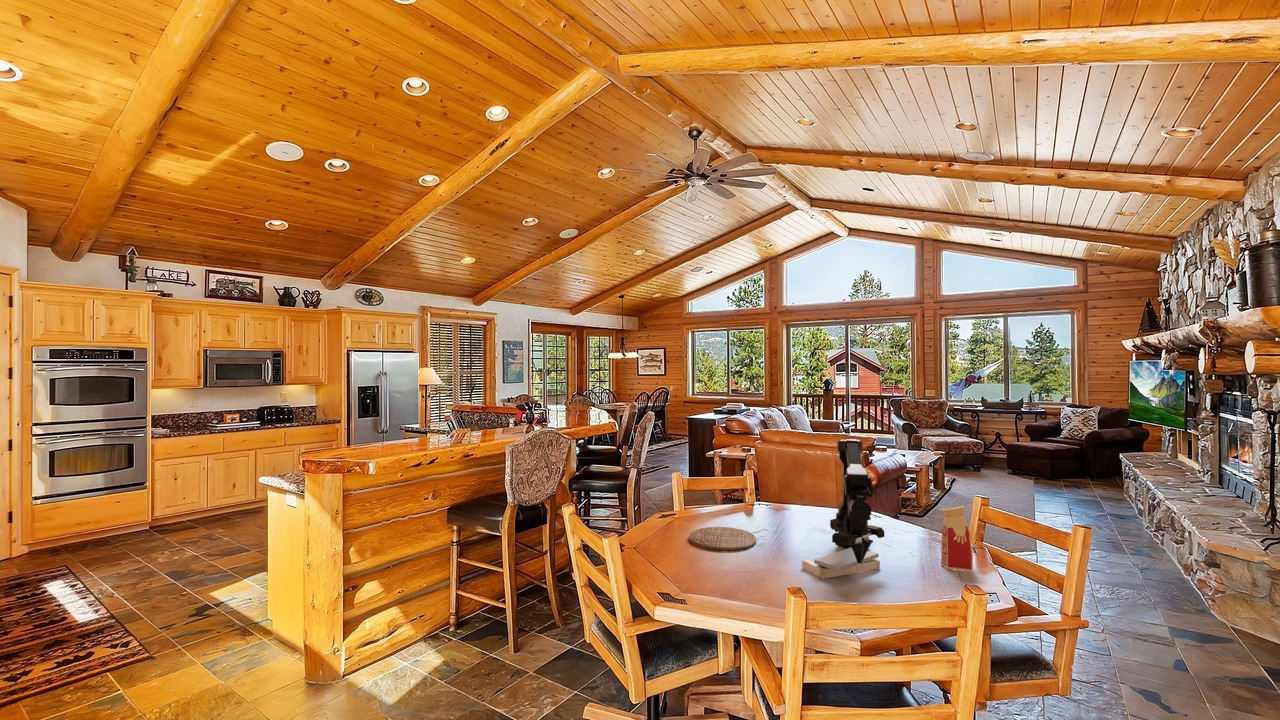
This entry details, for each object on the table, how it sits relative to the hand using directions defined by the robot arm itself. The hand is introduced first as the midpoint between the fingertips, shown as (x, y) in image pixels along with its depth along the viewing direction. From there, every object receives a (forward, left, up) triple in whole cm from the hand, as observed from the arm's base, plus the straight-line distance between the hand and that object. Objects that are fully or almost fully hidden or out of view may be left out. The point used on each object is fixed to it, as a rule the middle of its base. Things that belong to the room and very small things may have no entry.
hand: (859, 562), depth 180 cm
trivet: (+22, -48, -5) cm, 53 cm away
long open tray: (0, -8, -4) cm, 9 cm away
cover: (0, -5, -1) cm, 5 cm away
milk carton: (-36, +5, -5) cm, 37 cm away
